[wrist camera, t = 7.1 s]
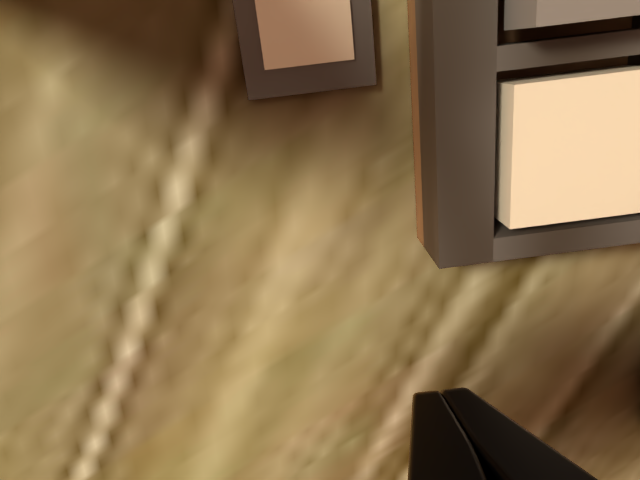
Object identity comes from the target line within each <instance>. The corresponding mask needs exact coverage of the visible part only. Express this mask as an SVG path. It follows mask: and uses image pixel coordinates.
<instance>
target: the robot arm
mask: <svg viewBox="0 0 640 480" xmlns="http://www.w3.org/2000/svg"><path fill="white" fill-rule="evenodd" d="M408 480H597V479H596V478H595V477H593V476H592V475H590V474H589V473H588V472H586V471H585V470H583V469H582V468H580V467H579V466H578V465H576V464H575V463H573V462H572V461H570V460H569V459H568V458H566V457H565V456H563V455H562V454H560V453H559V452H558V451H556V450H555V449H553V448H552V447H550V446H549V445H548V444H546V443H545V442H543V441H542V440H540V439H539V438H538V437H536V436H535V435H533V434H532V433H530V432H529V431H528V430H526V429H525V428H523V427H522V426H520V425H519V424H518V423H516V422H515V421H513V420H512V419H510V418H509V417H508V416H506V415H505V414H503V413H502V412H500V411H499V410H498V409H496V408H495V407H493V406H492V405H490V404H489V403H488V402H486V401H485V400H483V399H482V398H481V397H479V396H478V395H476V394H475V393H473V392H472V391H471V390H469V389H467V388H454V389H445V390H442V391H441V392H438V391H427V392H418V393H415V394H414V395H413V403H412V419H411V435H410V452H409V468H408Z"/></svg>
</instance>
